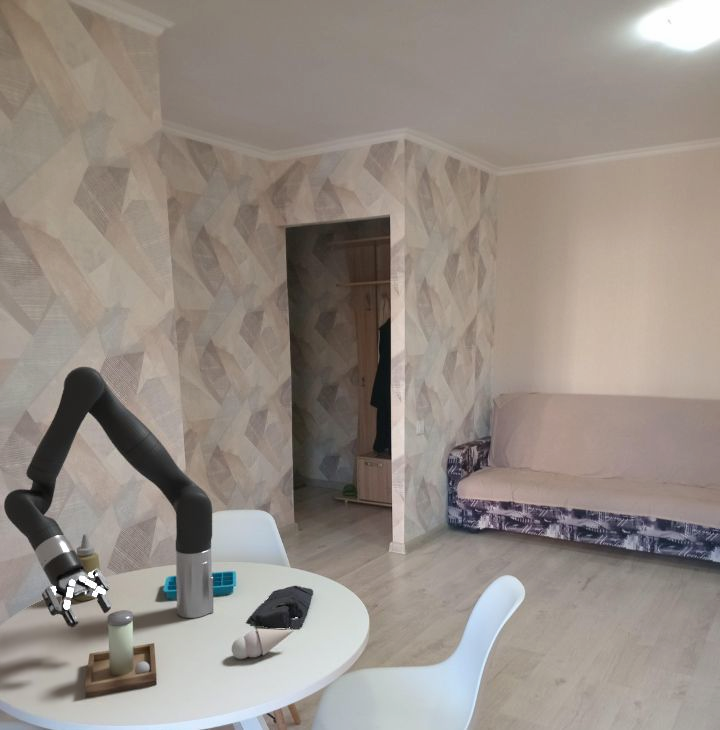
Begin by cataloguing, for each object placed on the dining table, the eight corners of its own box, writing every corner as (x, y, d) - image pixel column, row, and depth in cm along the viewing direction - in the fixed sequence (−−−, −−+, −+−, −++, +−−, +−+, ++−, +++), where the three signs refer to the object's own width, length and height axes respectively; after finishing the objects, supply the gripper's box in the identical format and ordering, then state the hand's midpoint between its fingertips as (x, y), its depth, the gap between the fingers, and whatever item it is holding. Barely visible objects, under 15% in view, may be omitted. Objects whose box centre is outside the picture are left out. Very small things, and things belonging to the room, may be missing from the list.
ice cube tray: (167, 586, 189) (166, 576, 189) (236, 580, 193) (235, 570, 193) (163, 602, 178) (162, 591, 178) (236, 595, 182) (236, 585, 182)
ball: (149, 671, 139) (149, 657, 139) (149, 678, 136) (149, 664, 136) (135, 673, 138) (134, 660, 138) (135, 680, 135) (134, 667, 135)
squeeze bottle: (91, 604, 176) (89, 540, 175) (65, 602, 178) (63, 538, 177) (108, 592, 184) (106, 531, 183) (83, 590, 186) (81, 529, 185)
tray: (154, 653, 149) (154, 643, 149) (156, 684, 136) (156, 673, 136) (89, 664, 144) (89, 653, 144) (85, 697, 131) (85, 685, 131)
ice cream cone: (298, 648, 151) (235, 669, 146) (290, 624, 155) (229, 644, 150) (298, 636, 147) (234, 658, 142) (291, 612, 151) (228, 633, 146)
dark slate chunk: (322, 597, 181) (322, 580, 181) (300, 633, 159) (299, 615, 159) (271, 593, 184) (270, 577, 184) (242, 628, 162) (242, 610, 162)
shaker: (134, 661, 143) (132, 608, 143) (134, 673, 138) (132, 618, 138) (109, 665, 142) (108, 612, 141) (108, 677, 137) (107, 622, 136)
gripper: (36, 560, 142) (71, 621, 137) (92, 541, 154) (125, 597, 149) (23, 578, 145) (56, 640, 140) (78, 559, 157) (111, 614, 152)
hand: (92, 618), depth 144 cm, fingers open, 8 cm apart
